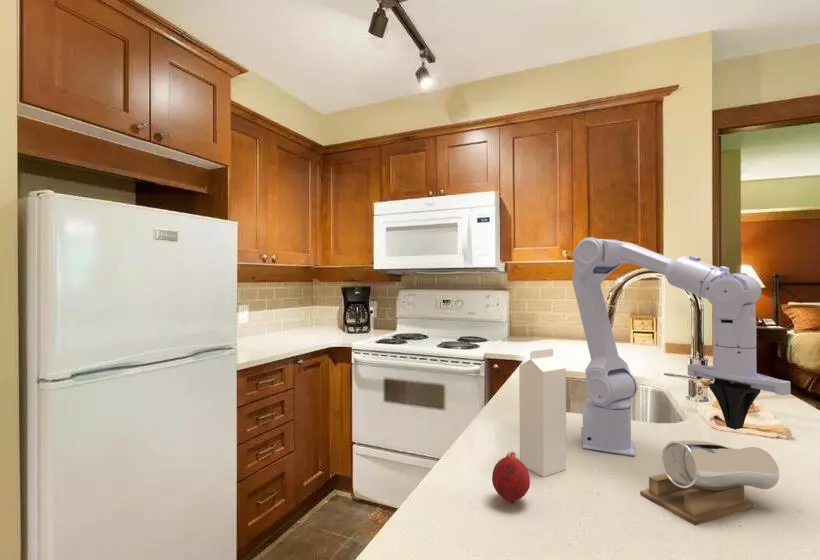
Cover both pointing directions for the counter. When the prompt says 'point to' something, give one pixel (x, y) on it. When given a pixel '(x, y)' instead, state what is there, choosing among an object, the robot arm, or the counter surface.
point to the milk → (543, 413)
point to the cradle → (695, 500)
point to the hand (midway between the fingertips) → (734, 427)
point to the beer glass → (718, 466)
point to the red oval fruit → (511, 478)
